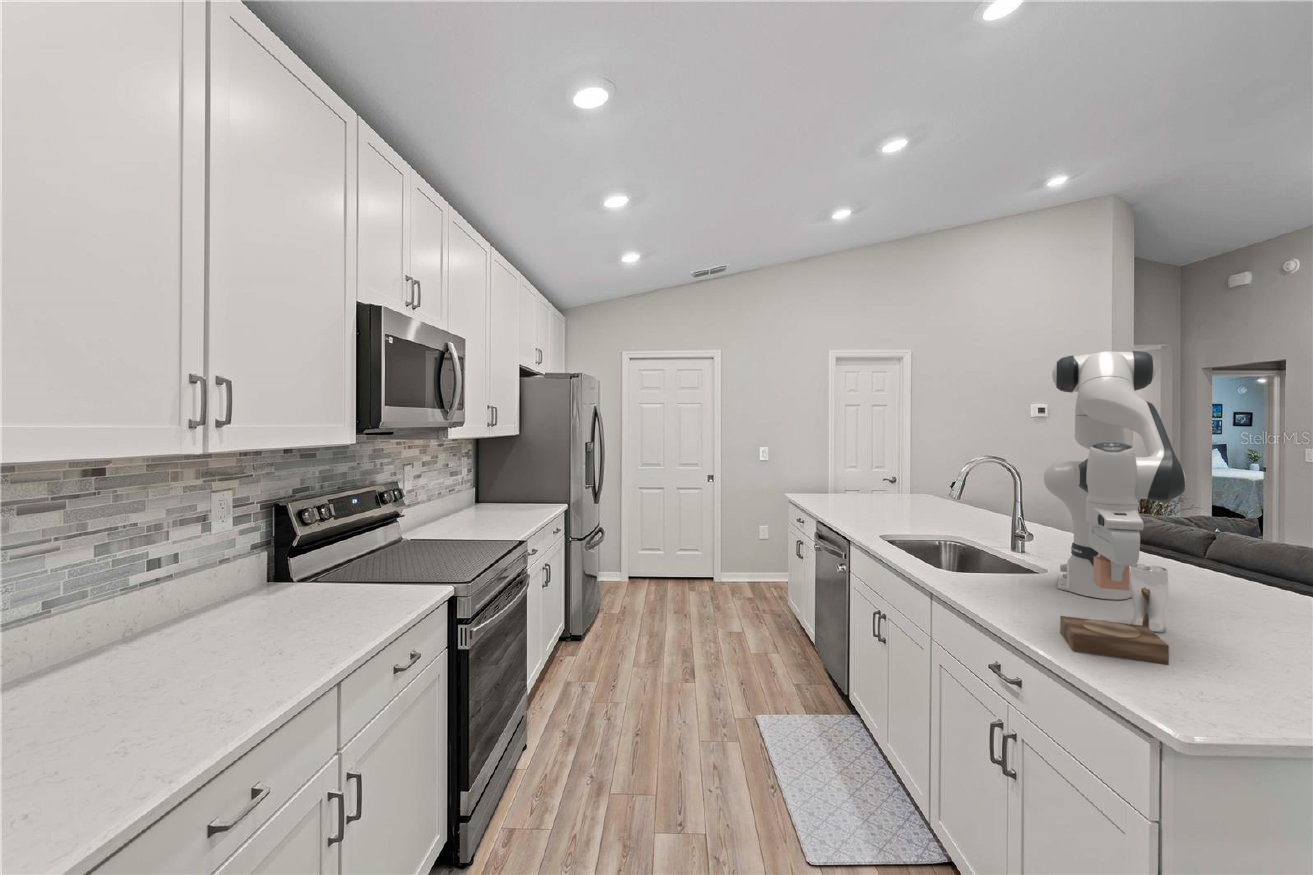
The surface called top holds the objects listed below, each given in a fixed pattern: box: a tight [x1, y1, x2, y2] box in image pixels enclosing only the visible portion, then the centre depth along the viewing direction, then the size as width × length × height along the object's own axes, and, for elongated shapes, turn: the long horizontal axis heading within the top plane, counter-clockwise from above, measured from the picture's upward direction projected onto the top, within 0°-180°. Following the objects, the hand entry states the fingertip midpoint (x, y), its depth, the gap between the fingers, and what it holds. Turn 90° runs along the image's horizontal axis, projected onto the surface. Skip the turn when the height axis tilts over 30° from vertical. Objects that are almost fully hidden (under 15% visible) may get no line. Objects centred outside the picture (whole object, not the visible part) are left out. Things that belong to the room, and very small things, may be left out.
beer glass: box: [1130, 563, 1169, 633], centre depth 131 cm, size 7×7×15 cm
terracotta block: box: [1094, 556, 1130, 591], centre depth 120 cm, size 5×5×6 cm
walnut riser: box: [1059, 615, 1170, 665], centre depth 120 cm, size 12×16×4 cm
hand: (1111, 576), depth 120 cm, fingers closed on terracotta block, 5 cm apart
